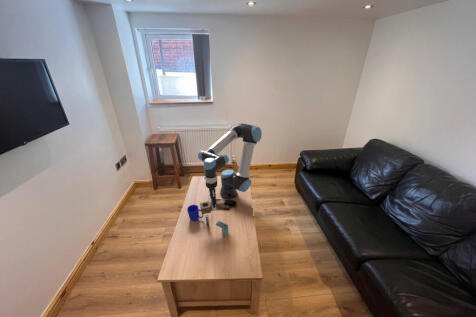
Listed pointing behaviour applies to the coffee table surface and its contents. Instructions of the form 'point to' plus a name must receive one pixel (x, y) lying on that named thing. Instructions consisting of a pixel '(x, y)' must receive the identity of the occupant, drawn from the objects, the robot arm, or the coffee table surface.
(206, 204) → the link
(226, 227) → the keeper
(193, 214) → the mug
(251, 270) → the coffee table surface
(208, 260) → the coffee table surface
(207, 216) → the rod
